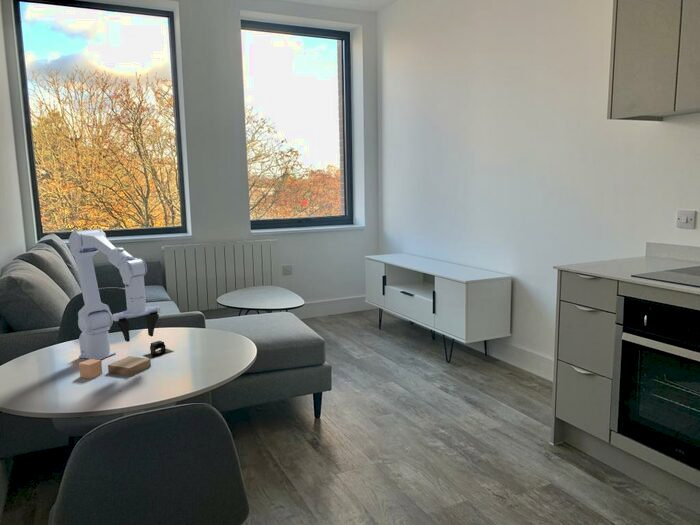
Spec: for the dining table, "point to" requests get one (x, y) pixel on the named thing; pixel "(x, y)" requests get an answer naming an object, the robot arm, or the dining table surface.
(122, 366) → the walnut slab
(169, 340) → the dining table surface
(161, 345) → the black slotted bracket
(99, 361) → the terracotta cube
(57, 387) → the dining table surface
